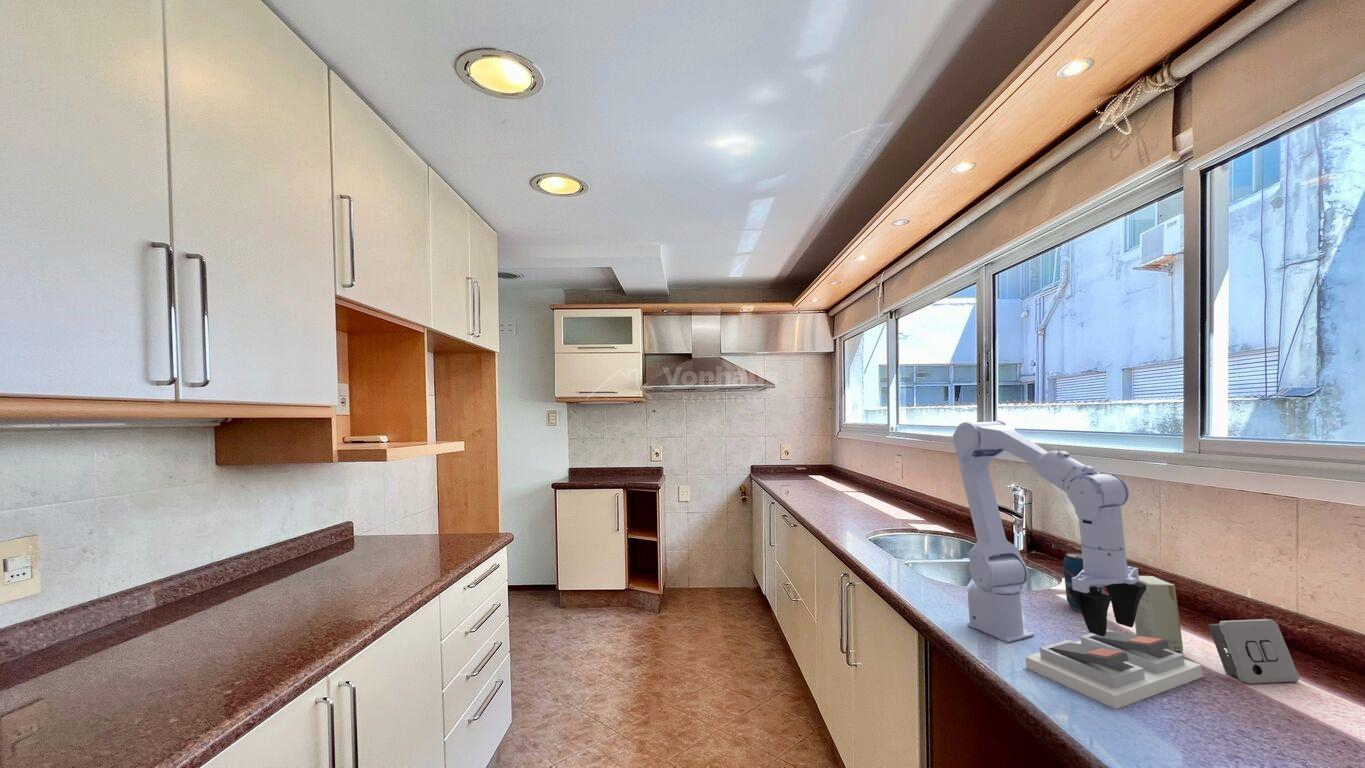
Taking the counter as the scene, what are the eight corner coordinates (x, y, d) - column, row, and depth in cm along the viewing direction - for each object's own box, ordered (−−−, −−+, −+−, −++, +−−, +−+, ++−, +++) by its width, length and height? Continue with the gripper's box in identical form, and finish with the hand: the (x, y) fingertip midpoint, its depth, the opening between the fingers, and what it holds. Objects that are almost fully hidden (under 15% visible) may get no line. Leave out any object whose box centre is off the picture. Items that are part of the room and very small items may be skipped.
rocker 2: (1094, 643, 92) (1092, 635, 93) (1111, 638, 94) (1109, 630, 94) (1151, 653, 84) (1148, 644, 85) (1169, 647, 86) (1166, 638, 86)
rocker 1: (1053, 655, 89) (1051, 646, 89) (1072, 649, 90) (1070, 641, 91) (1109, 666, 80) (1106, 657, 81) (1129, 660, 82) (1126, 651, 83)
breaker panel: (1026, 668, 90) (1024, 647, 90) (1108, 643, 98) (1106, 624, 98) (1116, 709, 77) (1113, 684, 77) (1202, 677, 85) (1200, 655, 85)
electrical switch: (1245, 685, 82) (1233, 625, 83) (1212, 672, 87) (1201, 616, 88) (1302, 683, 82) (1288, 623, 83) (1265, 670, 87) (1253, 614, 88)
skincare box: (1184, 652, 93) (1177, 585, 94) (1157, 651, 94) (1150, 584, 95) (1159, 637, 99) (1152, 574, 100) (1134, 636, 100) (1128, 574, 101)
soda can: (1060, 602, 119) (1055, 551, 120) (1092, 602, 118) (1087, 551, 119) (1079, 614, 112) (1074, 559, 113) (1113, 614, 111) (1108, 559, 112)
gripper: (1103, 557, 78) (1112, 647, 77) (1157, 545, 83) (1166, 629, 82) (1055, 547, 84) (1063, 630, 83) (1108, 537, 90) (1116, 615, 88)
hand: (1111, 629), depth 83 cm, fingers open, 7 cm apart
